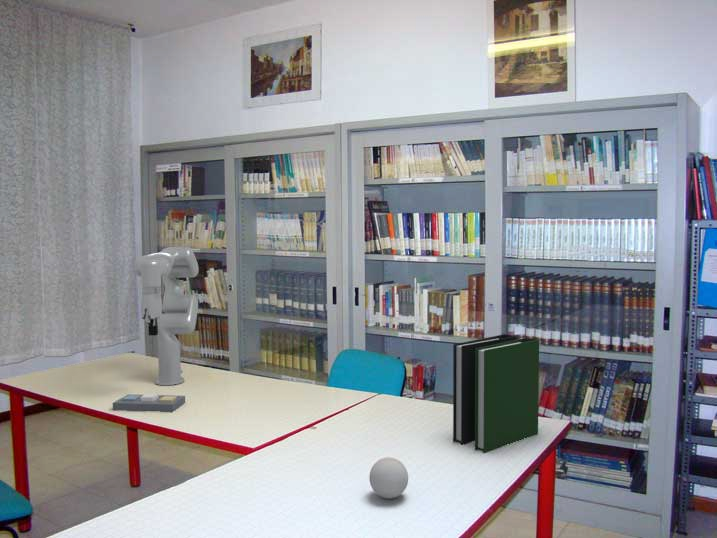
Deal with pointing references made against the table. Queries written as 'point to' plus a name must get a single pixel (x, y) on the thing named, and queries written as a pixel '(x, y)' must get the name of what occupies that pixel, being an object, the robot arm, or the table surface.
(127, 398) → the slate key
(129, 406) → the keypad
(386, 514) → the table surface
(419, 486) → the table surface
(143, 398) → the ivory key
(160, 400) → the tan key
